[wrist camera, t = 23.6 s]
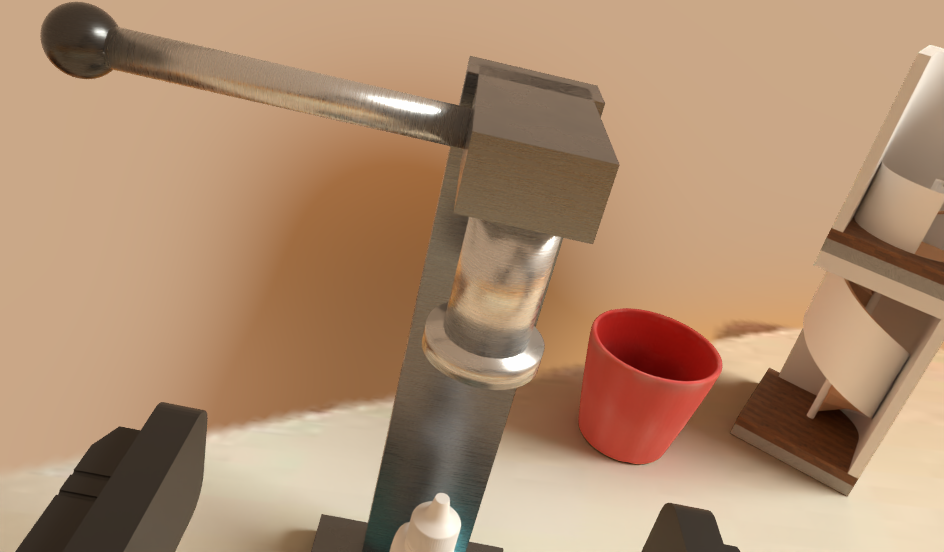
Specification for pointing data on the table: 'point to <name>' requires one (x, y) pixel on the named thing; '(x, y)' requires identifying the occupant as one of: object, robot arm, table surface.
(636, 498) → the table surface
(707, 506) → the table surface
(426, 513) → the eye dropper bottle
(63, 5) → the arbor press
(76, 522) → the robot arm
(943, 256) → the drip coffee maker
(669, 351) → the flower pot
